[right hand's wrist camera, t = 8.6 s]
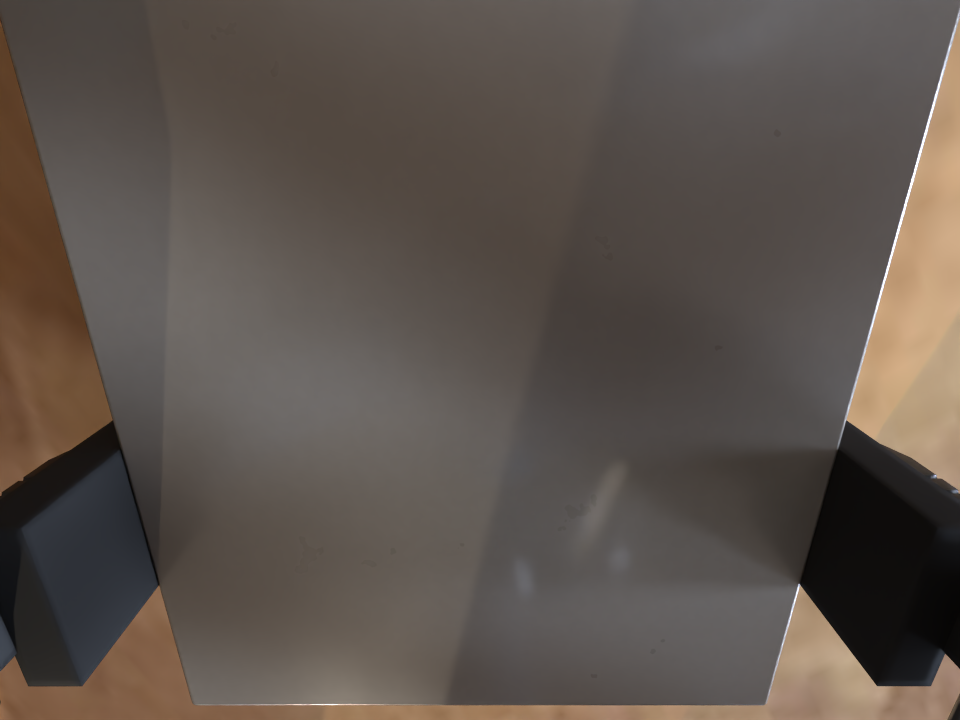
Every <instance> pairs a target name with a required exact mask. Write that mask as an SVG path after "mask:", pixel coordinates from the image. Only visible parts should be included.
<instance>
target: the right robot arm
mask: <svg viewBox="0 0 960 720" xmlns="http://www.w3.org/2000/svg"><path fill="white" fill-rule="evenodd" d="M23 478H24V479H23V481H18V482H16V483H15V484H13V485H12V486H10V487H9V488H8V489H6V490H5V491H3V492H2V496H0V671H1V670H2V669H3V668H4V667H5V666H6V665H7V664H8V663H9V661H10V660H11V659H12V658H13V657H14V656H15V657H16V659H17V661H18V664H19V666H20V668H21V670H22V673H23V675H24V677H25V680H26V682H27V684H28V686H83V684H84V683H85V682H86V680H87V679H88V678H89V676H90V675H91V674H92V673H93V671H94V670H95V669H96V667H97V666H98V665H99V663H100V662H101V661H102V659H103V658H104V657H105V655H106V654H107V653H108V651H109V650H110V649H111V647H112V646H113V645H114V644H115V642H116V641H117V640H118V638H119V637H120V636H121V634H122V633H123V632H124V630H125V629H126V628H127V626H128V625H129V624H130V622H131V621H132V620H133V619H134V617H135V616H136V615H137V613H138V612H139V611H140V609H141V608H142V607H143V605H144V604H145V603H146V601H147V600H148V599H149V597H150V596H151V595H152V594H153V592H154V591H155V590H156V588H157V587H158V586H159V582H158V579H157V575H156V572H155V568H154V565H153V561H152V557H151V554H150V550H149V547H148V543H147V540H146V536H145V532H144V529H143V525H142V522H141V518H140V515H139V511H138V508H137V504H136V500H135V497H134V493H133V490H132V486H131V483H130V479H129V475H128V472H127V468H126V465H125V461H124V458H123V454H122V451H121V447H120V443H119V440H118V436H117V433H116V429H115V426H114V422H113V421H112V422H110V423H109V424H107V425H106V426H104V427H103V428H102V429H100V430H99V431H97V432H96V433H94V434H93V435H92V436H90V437H89V438H87V439H86V440H84V441H83V442H82V443H80V444H79V445H77V446H76V447H74V448H73V449H72V450H70V451H68V452H65V453H63V454H61V455H59V456H57V457H54V458H52V459H50V460H48V461H47V462H45V463H44V464H42V465H41V466H39V467H38V468H37V469H35V470H34V471H32V472H31V473H29V474H28V475H26V476H25V477H23ZM800 585H801V586H802V588H803V589H804V590H805V592H806V593H807V594H808V596H809V597H810V598H811V600H812V601H813V602H814V603H815V605H816V606H817V607H818V609H819V610H820V611H821V613H822V614H823V615H824V617H825V618H826V619H827V621H828V622H829V623H830V625H831V626H832V627H833V629H834V630H835V631H836V632H837V634H838V635H839V636H840V638H841V639H842V640H843V642H844V643H845V644H846V646H847V647H848V648H849V650H850V651H851V652H852V654H853V655H854V656H855V657H856V659H857V660H858V661H859V663H860V664H861V665H862V667H863V668H864V669H865V671H866V672H867V673H868V675H869V676H870V677H871V679H872V680H873V681H874V683H875V684H876V685H877V686H931V684H932V682H933V680H934V678H935V675H936V673H937V671H938V668H939V666H940V664H941V662H942V659H943V657H944V655H945V654H946V655H947V656H948V657H949V658H950V659H951V660H952V661H953V662H954V663H955V664H956V665H957V666H958V667H959V668H960V494H959V493H958V490H957V489H956V488H954V487H953V486H951V485H950V484H948V483H947V482H946V481H944V480H943V479H937V477H936V475H935V474H934V473H932V472H931V471H929V470H928V469H927V468H925V467H924V466H922V465H921V464H919V463H918V462H916V461H915V460H913V459H912V458H910V457H908V456H906V455H903V454H901V453H899V452H897V451H895V450H892V449H890V448H888V447H886V446H884V445H881V444H879V443H878V442H876V441H875V440H873V439H872V438H871V437H869V436H868V435H866V434H865V433H864V432H862V431H861V430H859V429H858V428H856V427H855V426H854V425H852V424H851V423H849V422H848V421H846V423H845V426H844V430H843V433H842V437H841V441H840V444H839V448H838V451H837V455H836V458H835V462H834V465H833V469H832V473H831V476H830V480H829V483H828V487H827V490H826V494H825V497H824V501H823V505H822V508H821V512H820V515H819V519H818V522H817V526H816V530H815V533H814V537H813V540H812V544H811V547H810V551H809V554H808V558H807V562H806V565H805V569H804V572H803V576H802V579H801V583H800ZM0 703H1V702H0ZM948 720H960V694H959V696H958V699H957V701H956V703H955V705H954V707H953V709H952V711H951V713H950V716H949V718H948Z"/></svg>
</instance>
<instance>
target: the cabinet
mask: <svg viewBox="0 0 960 720" xmlns="http://www.w3.org/2000/svg"><path fill="white" fill-rule="evenodd" d="M959 17H960V0H0V19H1V23H2V27H3V30H4V34H5V37H6V41H7V44H8V48H9V51H10V55H11V59H12V62H13V66H14V69H15V73H16V76H17V80H18V84H19V87H20V91H21V94H22V98H23V101H24V105H25V109H26V112H27V116H28V119H29V123H30V126H31V130H32V133H33V137H34V141H35V144H36V148H37V151H38V155H39V158H40V162H41V166H42V169H43V173H44V176H45V180H46V183H47V187H48V190H49V194H50V198H51V201H52V205H53V208H54V212H55V215H56V219H57V223H58V226H59V230H60V233H61V237H62V240H63V244H64V247H65V251H66V255H67V258H68V262H69V265H70V269H71V272H72V276H73V280H74V283H75V287H76V290H77V294H78V297H79V301H80V304H81V308H82V312H83V315H84V319H85V322H86V326H87V329H88V333H89V337H90V340H91V344H92V347H93V351H94V354H95V358H96V361H97V365H98V369H99V372H100V376H101V379H102V383H103V386H104V390H105V394H106V397H107V401H108V404H109V408H110V411H111V415H112V418H113V422H114V426H115V429H116V433H117V436H118V440H119V443H120V447H121V451H122V454H123V458H124V461H125V465H126V468H127V472H128V475H129V479H130V483H131V486H132V490H133V493H134V497H135V500H136V504H137V508H138V511H139V515H140V518H141V522H142V525H143V529H144V532H145V536H146V540H147V543H148V547H149V550H150V554H151V557H152V561H153V565H154V568H155V572H156V575H157V579H158V582H159V586H160V590H161V593H162V597H163V600H164V604H165V607H166V611H167V614H168V618H169V622H170V625H171V629H172V632H173V636H174V639H175V643H176V647H177V650H178V654H179V657H180V661H181V664H182V668H183V671H184V675H185V679H186V682H187V686H188V689H189V693H190V696H191V700H192V703H193V704H194V705H765V704H766V703H767V700H768V697H769V693H770V690H771V686H772V682H773V679H774V675H775V672H776V668H777V665H778V661H779V658H780V654H781V650H782V647H783V643H784V640H785V636H786V633H787V629H788V626H789V622H790V618H791V615H792V611H793V608H794V604H795V601H796V597H797V594H798V590H799V586H800V583H801V579H802V576H803V572H804V569H805V565H806V562H807V558H808V554H809V551H810V547H811V544H812V540H813V537H814V533H815V530H816V526H817V522H818V519H819V515H820V512H821V508H822V505H823V501H824V497H825V494H826V490H827V487H828V483H829V480H830V476H831V473H832V469H833V465H834V462H835V458H836V455H837V451H838V448H839V444H840V441H841V437H842V433H843V430H844V426H845V423H846V419H847V416H848V412H849V409H850V405H851V401H852V398H853V394H854V391H855V387H856V384H857V380H858V377H859V373H860V369H861V366H862V362H863V359H864V355H865V352H866V348H867V344H868V341H869V337H870V334H871V330H872V327H873V323H874V320H875V316H876V312H877V309H878V305H879V302H880V298H881V295H882V291H883V288H884V284H885V280H886V277H887V273H888V270H889V266H890V263H891V259H892V256H893V252H894V248H895V245H896V241H897V238H898V234H899V231H900V227H901V224H902V220H903V216H904V213H905V209H906V206H907V202H908V199H909V195H910V192H911V188H912V184H913V181H914V177H915V174H916V170H917V167H918V163H919V159H920V156H921V152H922V149H923V145H924V142H925V138H926V135H927V131H928V127H929V124H930V120H931V117H932V113H933V110H934V106H935V103H936V99H937V95H938V92H939V88H940V85H941V81H942V78H943V74H944V71H945V67H946V63H947V60H948V56H949V53H950V49H951V46H952V42H953V39H954V35H955V31H956V28H957V24H958V21H959Z"/></svg>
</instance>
